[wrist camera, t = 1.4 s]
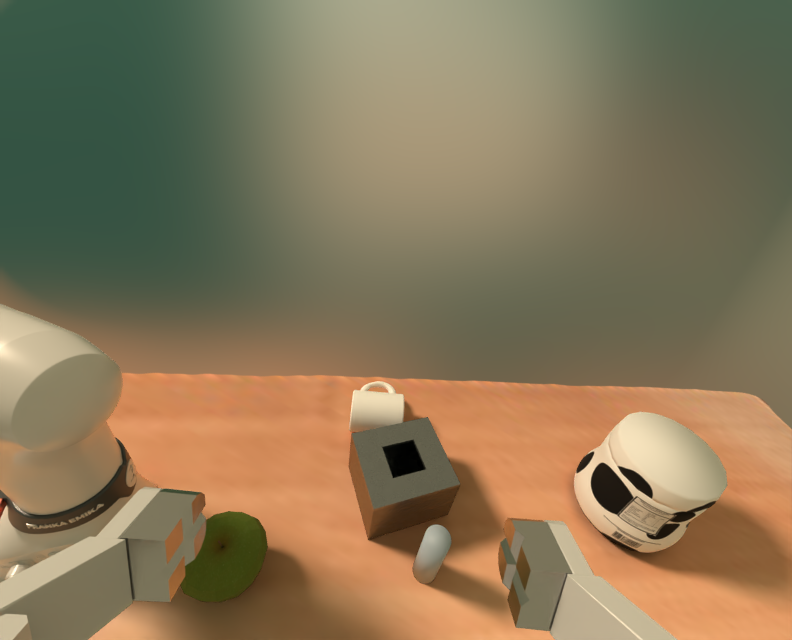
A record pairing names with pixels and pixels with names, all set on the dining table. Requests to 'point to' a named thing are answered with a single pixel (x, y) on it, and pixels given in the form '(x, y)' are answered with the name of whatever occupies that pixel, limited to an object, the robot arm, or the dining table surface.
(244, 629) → the dining table surface
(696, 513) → the milk container
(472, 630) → the dining table surface
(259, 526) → the apple
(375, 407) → the mug
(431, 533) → the grey rounded cylinder
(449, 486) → the grey square box
